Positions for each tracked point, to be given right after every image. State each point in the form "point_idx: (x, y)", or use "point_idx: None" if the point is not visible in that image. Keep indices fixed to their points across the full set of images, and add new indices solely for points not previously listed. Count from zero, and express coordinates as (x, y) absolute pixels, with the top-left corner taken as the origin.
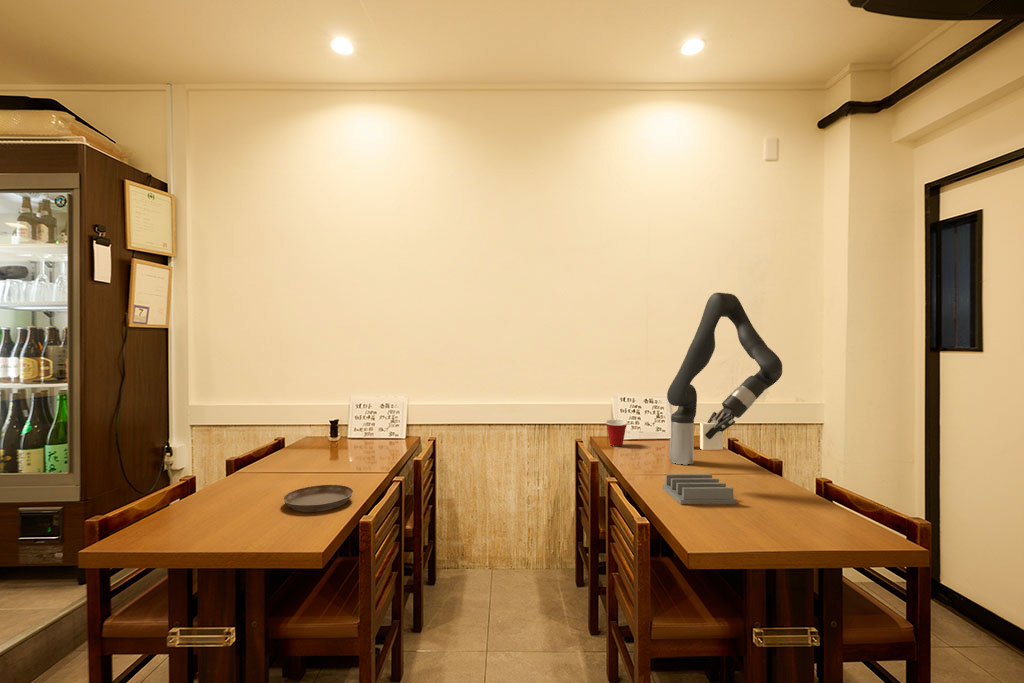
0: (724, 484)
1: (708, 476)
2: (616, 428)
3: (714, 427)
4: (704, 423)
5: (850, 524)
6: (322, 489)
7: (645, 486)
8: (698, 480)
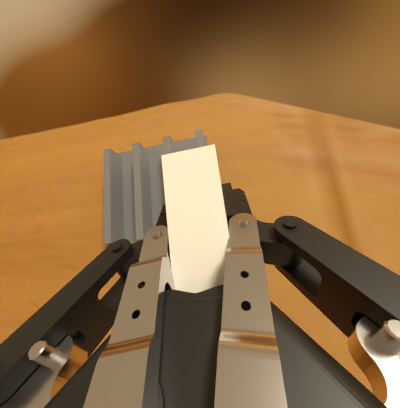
0: (137, 237)
1: None
2: None
3: (149, 232)
4: (192, 171)
5: None
6: None
7: (217, 112)
8: None
